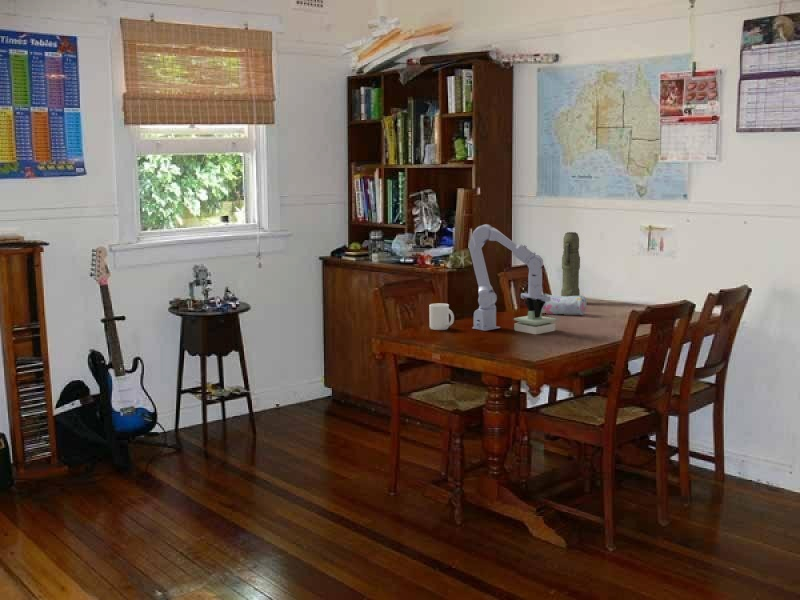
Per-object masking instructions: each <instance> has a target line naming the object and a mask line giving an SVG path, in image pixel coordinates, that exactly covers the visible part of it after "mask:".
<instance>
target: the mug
mask: <svg viewBox="0 0 800 600" xmlns="http://www.w3.org/2000/svg"><path fill="white" fill-rule="evenodd" d="M449 307H450V304H448V303H443V302H442V303H441V302H440V303H439V302H438V303H430V304H429V309H428V310H429V312H428V313H429V329H430V330H434V331H446V330H448V329H449V327H450V326H452V325H453V324H454V321H455V314H454V312H453V311H452V310H451V309H450V308H449Z"/></svg>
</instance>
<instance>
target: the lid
mask: <svg viewBox="0 0 800 600" xmlns="http://www.w3.org/2000/svg"><path fill="white" fill-rule="evenodd" d="M513 321H517V323H524V324H529V325H535V326H536V325H542V324H547V323H552V322H554V321H557V318H554V317H551V316H550V317H548V316H543V313H542V310H541V313H540V317H537V318H536V317H535V310H533V311H529V310H528V311H527V315H525V316H518V317H513Z"/></svg>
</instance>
